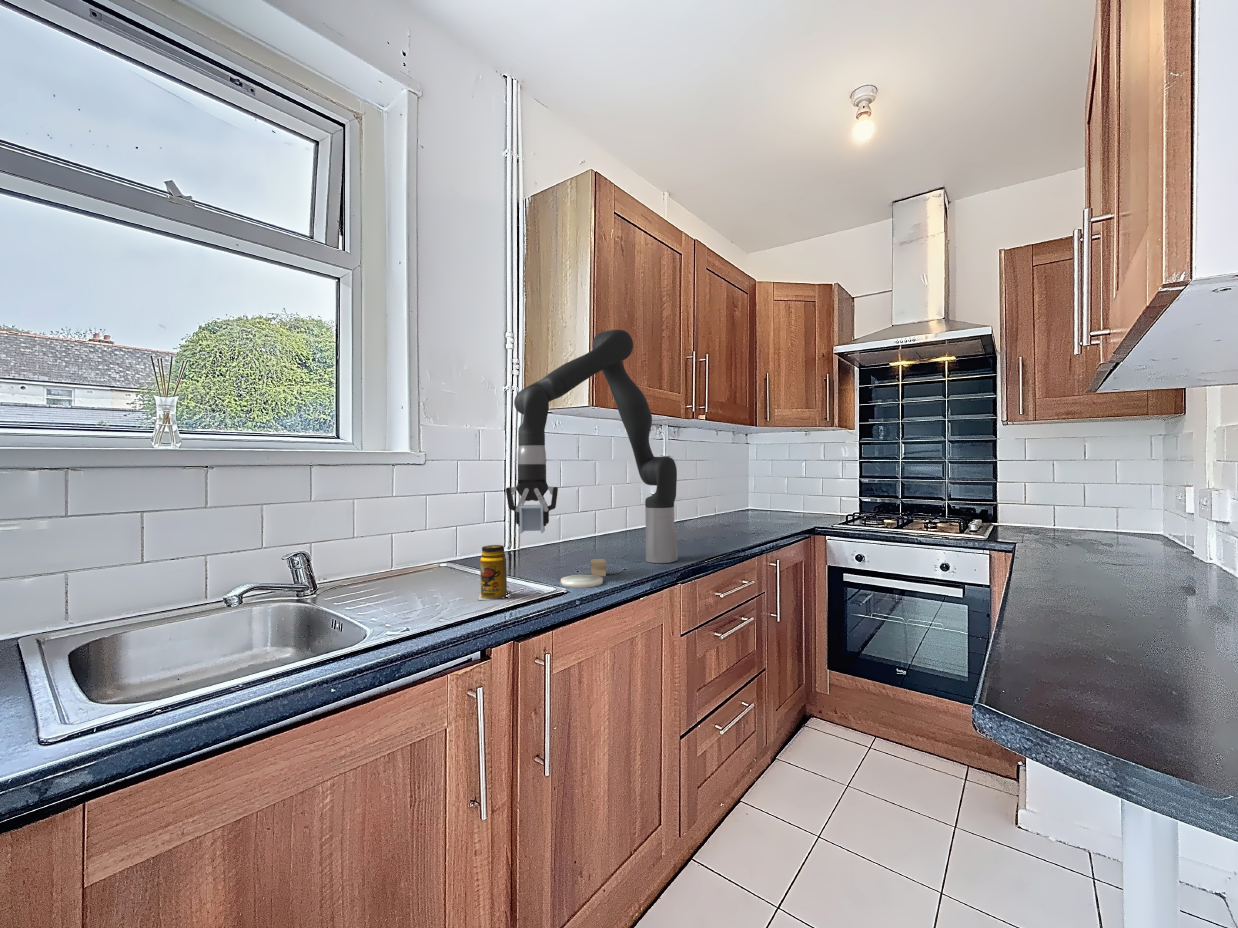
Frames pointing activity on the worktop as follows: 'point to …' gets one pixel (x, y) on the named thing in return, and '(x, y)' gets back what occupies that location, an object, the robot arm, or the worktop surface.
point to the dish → (581, 581)
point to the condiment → (493, 573)
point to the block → (598, 567)
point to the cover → (531, 518)
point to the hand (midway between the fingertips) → (532, 525)
